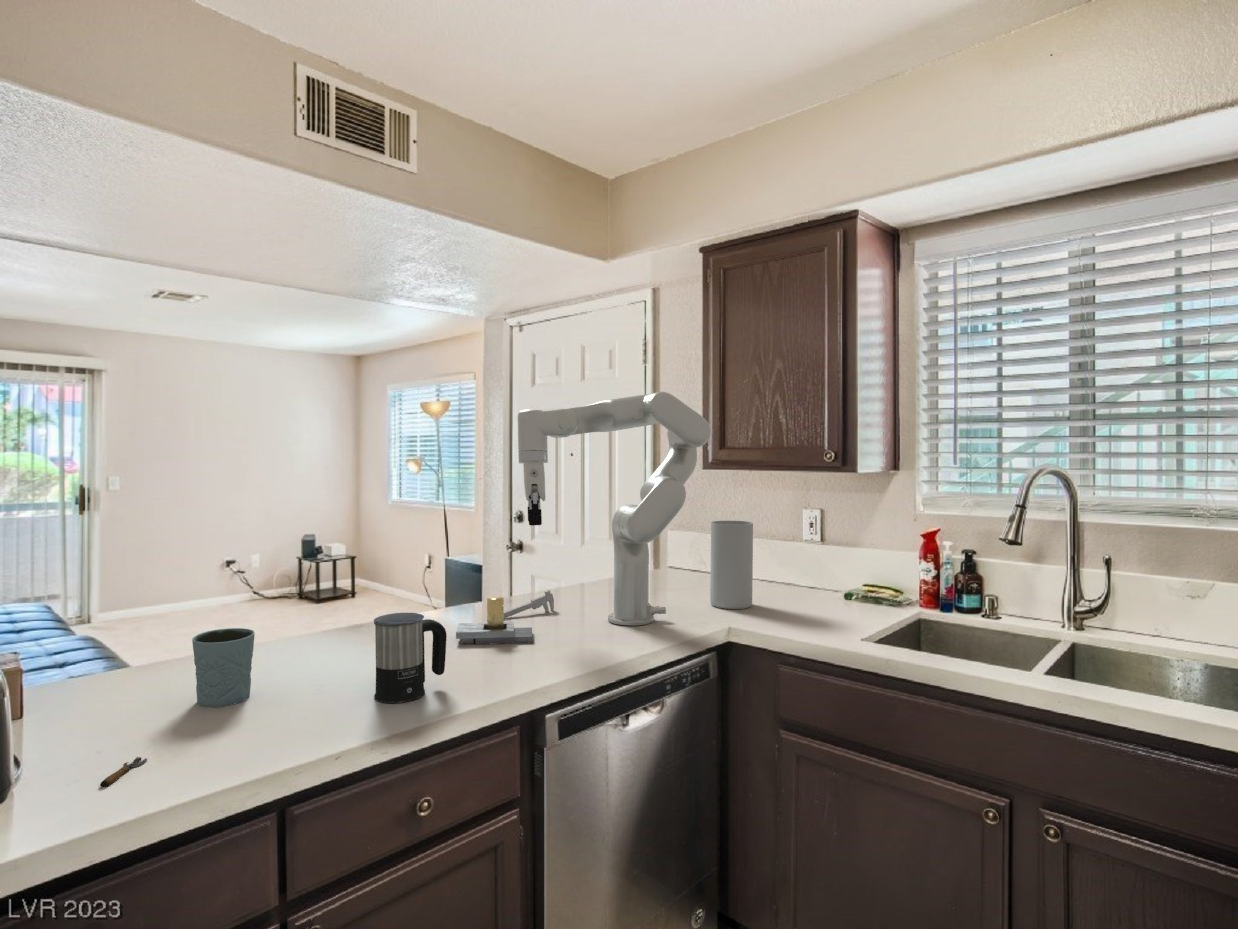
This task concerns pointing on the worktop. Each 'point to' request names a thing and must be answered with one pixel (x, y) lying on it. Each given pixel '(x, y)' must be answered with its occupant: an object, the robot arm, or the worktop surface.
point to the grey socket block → (492, 634)
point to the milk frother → (405, 655)
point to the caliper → (533, 604)
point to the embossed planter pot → (223, 666)
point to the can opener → (122, 772)
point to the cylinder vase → (731, 564)
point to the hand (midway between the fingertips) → (534, 523)
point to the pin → (495, 613)
